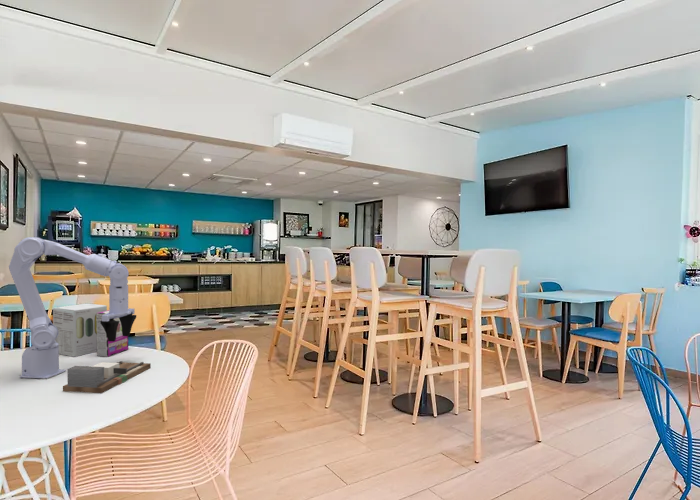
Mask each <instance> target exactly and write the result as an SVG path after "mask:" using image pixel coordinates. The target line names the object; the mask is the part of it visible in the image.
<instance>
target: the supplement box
mask: <svg viewBox="0 0 700 500" xmlns="http://www.w3.org/2000/svg"><path fill="white" fill-rule="evenodd" d="M103 311H108V305H105V304H98V303H97V304H95V303H88V302H87V303H86V302H85V303H80V304H71V305H65V306H59V307H58V306H57V307H52V324H53V325H54V326H56V327H57V329H58V336H57V338H56V339H55V341H56V342H57V343H58V344H59V355H62V356H63V355H64V356H68V357H73V358H77V357H80V356H84V355H85V356H86V355H88V354H92V353H96V352H97V326H96V313H99V312H103Z"/></svg>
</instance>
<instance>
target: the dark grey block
mask: <svg viewBox="0 0 700 500" xmlns="http://www.w3.org/2000/svg"><path fill="white" fill-rule="evenodd" d="M66 371H67V375H66V376H67V384H68V386H71V387H92V388H97V387H99V386H101V385H103V384H104V367H91V366H88V365H87V366H86V365H85V366H84V365H74V366H72V367H69V368H67V370H66Z"/></svg>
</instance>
